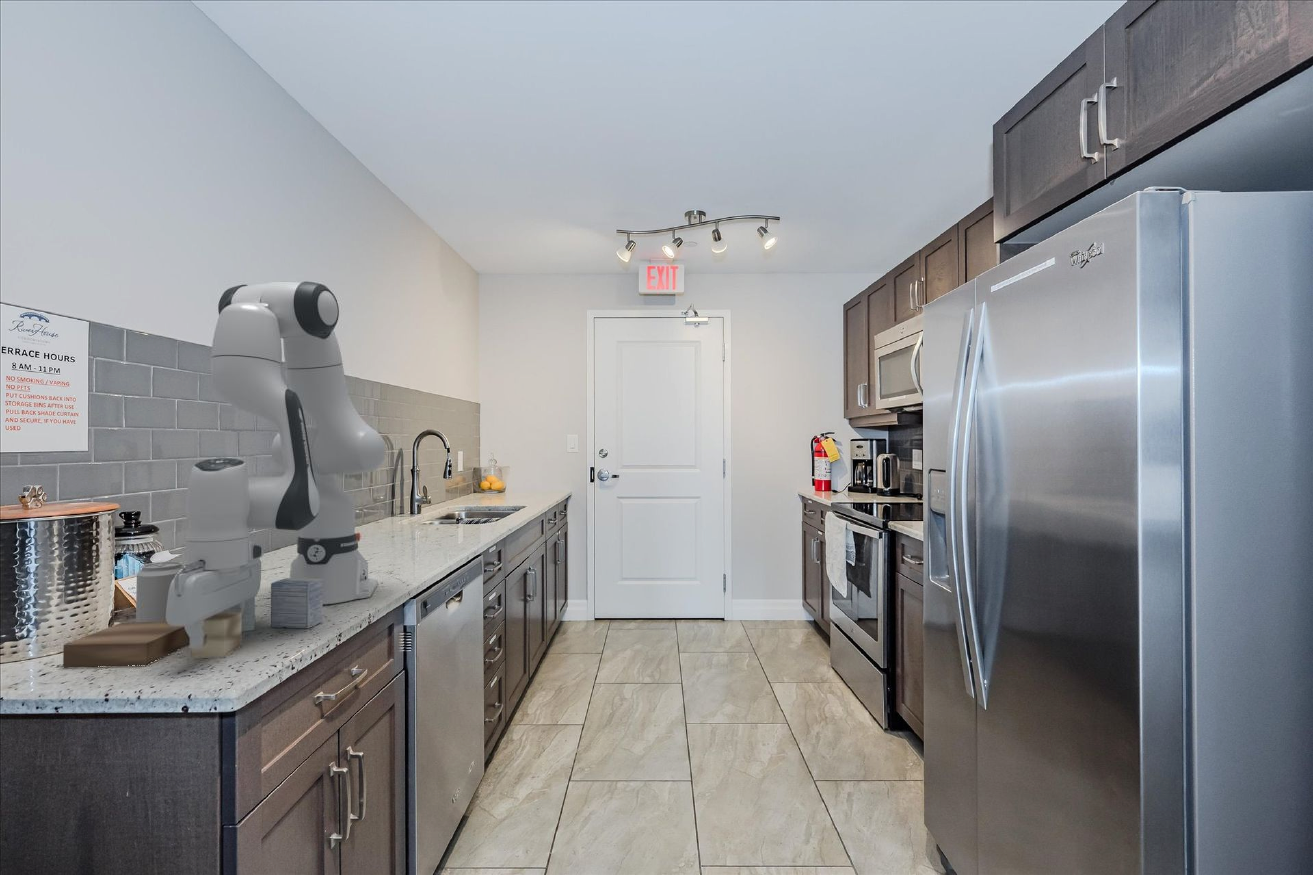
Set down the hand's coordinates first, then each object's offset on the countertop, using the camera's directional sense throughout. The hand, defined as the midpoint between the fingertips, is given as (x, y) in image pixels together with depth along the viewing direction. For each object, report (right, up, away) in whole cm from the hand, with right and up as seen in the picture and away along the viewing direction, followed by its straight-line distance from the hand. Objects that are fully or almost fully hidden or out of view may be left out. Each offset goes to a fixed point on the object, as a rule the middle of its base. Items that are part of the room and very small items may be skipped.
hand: (216, 637), depth 104 cm
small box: (-6, -3, +13) cm, 15 cm away
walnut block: (-13, -3, -1) cm, 13 cm away
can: (-20, -3, +14) cm, 25 cm away
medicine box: (+5, -3, +16) cm, 17 cm away
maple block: (0, -3, 0) cm, 3 cm away
